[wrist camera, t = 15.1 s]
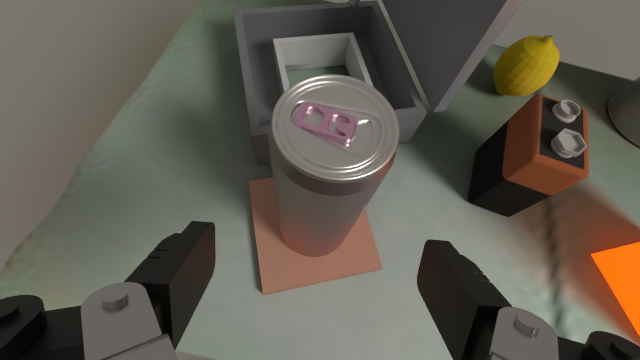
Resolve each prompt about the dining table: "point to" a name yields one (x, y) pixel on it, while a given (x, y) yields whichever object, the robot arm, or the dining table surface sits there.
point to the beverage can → (328, 158)
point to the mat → (298, 270)
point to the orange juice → (623, 277)
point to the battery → (531, 156)
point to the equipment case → (366, 52)
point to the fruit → (526, 66)
